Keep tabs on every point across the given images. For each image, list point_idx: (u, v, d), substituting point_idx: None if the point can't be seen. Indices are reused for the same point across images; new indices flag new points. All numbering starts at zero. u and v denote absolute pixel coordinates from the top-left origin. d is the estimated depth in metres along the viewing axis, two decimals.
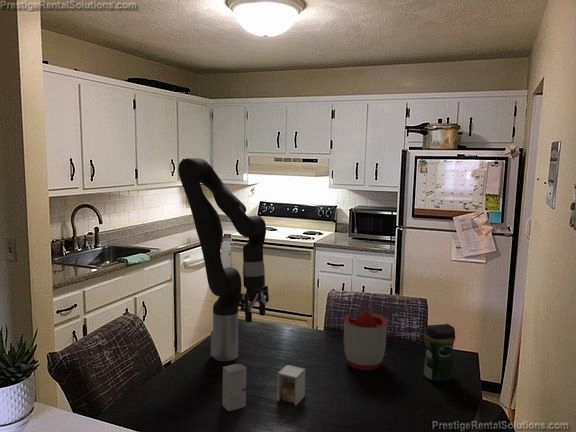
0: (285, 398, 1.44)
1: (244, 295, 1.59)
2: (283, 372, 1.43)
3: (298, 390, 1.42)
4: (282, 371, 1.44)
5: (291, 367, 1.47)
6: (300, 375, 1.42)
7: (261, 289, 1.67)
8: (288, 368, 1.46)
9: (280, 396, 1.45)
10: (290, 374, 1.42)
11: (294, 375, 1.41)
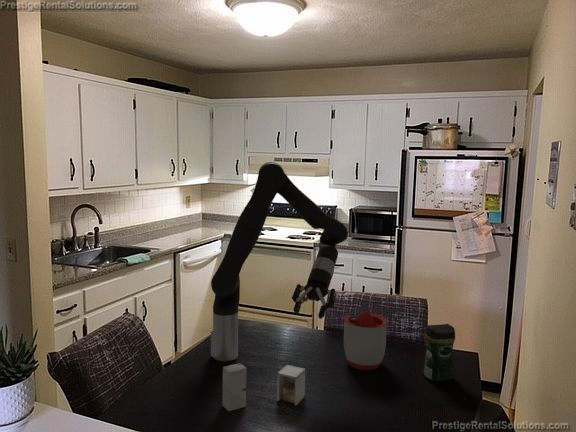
0: (285, 398, 1.44)
1: (335, 292, 1.55)
2: (283, 372, 1.43)
3: (298, 390, 1.42)
4: (282, 371, 1.44)
5: (291, 367, 1.47)
6: (300, 375, 1.42)
7: None
8: (288, 368, 1.46)
9: (280, 396, 1.45)
10: (290, 374, 1.42)
11: (294, 375, 1.41)
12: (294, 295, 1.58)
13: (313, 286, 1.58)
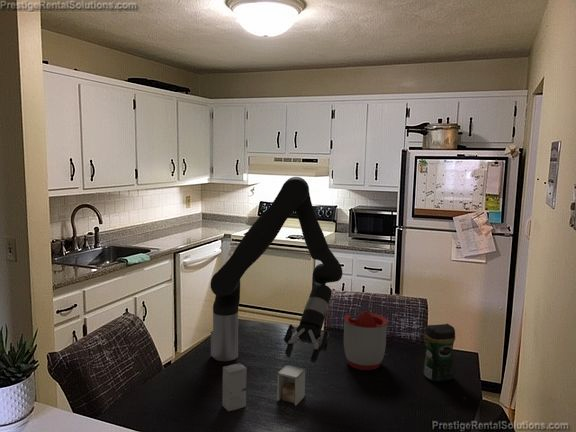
0: (285, 398, 1.44)
1: (328, 334, 1.52)
2: (283, 372, 1.43)
3: (298, 390, 1.42)
4: (282, 371, 1.44)
5: (291, 367, 1.47)
6: (300, 375, 1.42)
7: None
8: (288, 368, 1.46)
9: (280, 396, 1.45)
10: (290, 374, 1.42)
11: (294, 375, 1.41)
12: (286, 337, 1.54)
13: (306, 328, 1.54)
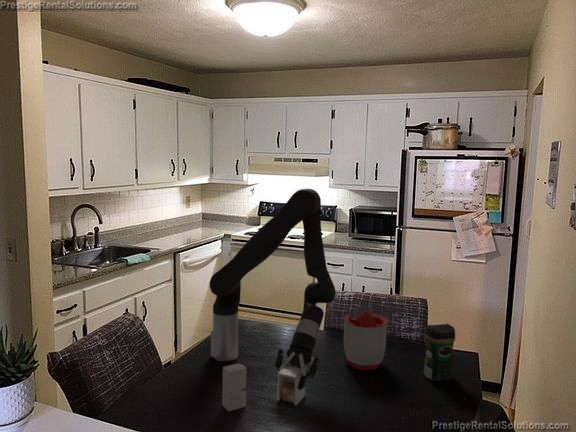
0: (285, 398, 1.44)
1: (319, 361, 1.46)
2: (283, 372, 1.43)
3: (298, 390, 1.42)
4: (282, 371, 1.44)
5: (291, 367, 1.46)
6: (300, 375, 1.42)
7: None
8: (288, 368, 1.46)
9: (280, 396, 1.45)
10: (290, 374, 1.42)
11: (294, 375, 1.41)
12: (277, 362, 1.48)
13: (296, 351, 1.49)
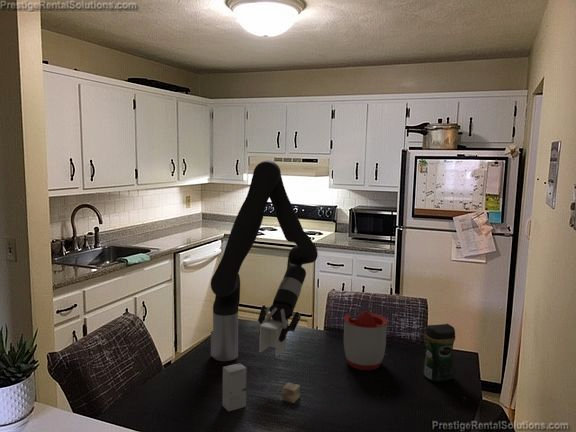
0: (285, 398, 1.44)
1: (299, 315, 1.53)
2: (265, 325, 1.50)
3: (279, 342, 1.49)
4: (264, 324, 1.51)
5: (273, 321, 1.54)
6: (281, 328, 1.50)
7: None
8: (270, 322, 1.53)
9: (262, 348, 1.52)
10: (271, 326, 1.49)
11: (275, 327, 1.48)
12: (260, 317, 1.55)
13: (278, 307, 1.56)
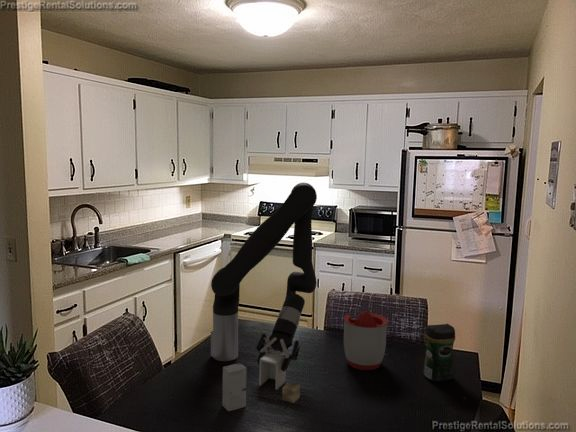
0: (285, 398, 1.44)
1: (299, 344, 1.56)
2: (265, 358, 1.52)
3: (279, 375, 1.51)
4: (264, 357, 1.53)
5: (273, 354, 1.56)
6: (280, 361, 1.52)
7: None
8: (270, 355, 1.55)
9: (262, 381, 1.54)
10: (271, 360, 1.51)
11: (275, 361, 1.51)
12: (259, 345, 1.58)
13: (278, 337, 1.58)
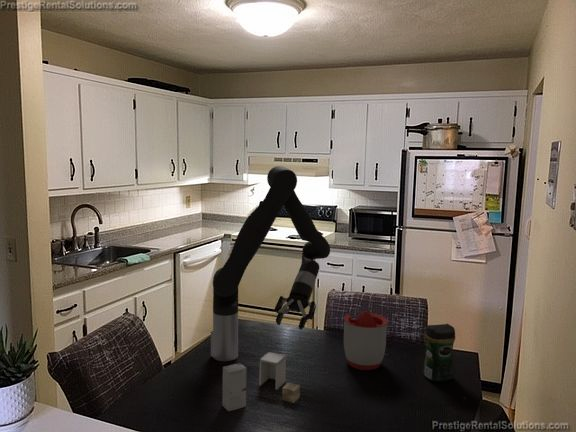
0: (285, 398, 1.44)
1: (315, 304, 1.66)
2: (265, 358, 1.52)
3: (279, 375, 1.51)
4: (264, 357, 1.53)
5: (273, 354, 1.56)
6: (280, 361, 1.52)
7: None
8: (270, 355, 1.55)
9: (262, 381, 1.54)
10: (271, 360, 1.51)
11: (275, 361, 1.51)
12: (277, 306, 1.68)
13: (295, 298, 1.68)
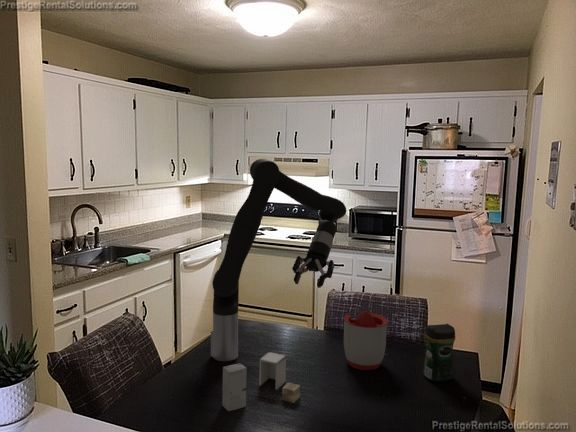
0: (285, 398, 1.44)
1: (333, 263, 1.64)
2: (265, 358, 1.52)
3: (279, 375, 1.51)
4: (264, 357, 1.53)
5: (273, 354, 1.56)
6: (280, 361, 1.52)
7: None
8: (270, 355, 1.55)
9: (262, 381, 1.54)
10: (271, 360, 1.51)
11: (275, 361, 1.51)
12: (294, 266, 1.66)
13: (312, 258, 1.66)
